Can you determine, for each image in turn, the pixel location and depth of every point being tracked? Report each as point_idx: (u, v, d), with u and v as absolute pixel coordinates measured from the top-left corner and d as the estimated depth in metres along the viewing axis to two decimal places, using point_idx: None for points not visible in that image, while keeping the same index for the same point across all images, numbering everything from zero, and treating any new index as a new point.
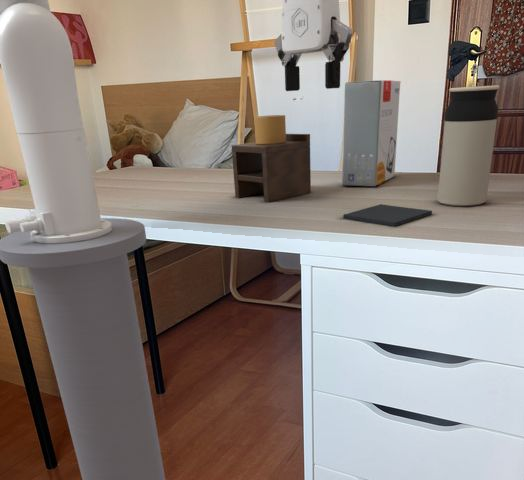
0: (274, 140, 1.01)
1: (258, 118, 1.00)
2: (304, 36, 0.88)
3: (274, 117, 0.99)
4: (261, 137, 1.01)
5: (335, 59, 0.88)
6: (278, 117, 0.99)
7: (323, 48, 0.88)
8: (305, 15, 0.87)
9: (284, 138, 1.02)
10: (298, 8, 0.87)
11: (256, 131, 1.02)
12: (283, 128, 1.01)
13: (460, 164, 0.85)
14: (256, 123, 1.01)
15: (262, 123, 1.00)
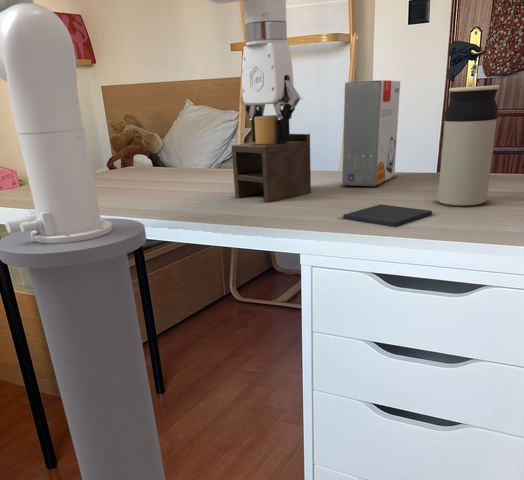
0: (274, 140, 1.01)
1: (258, 118, 1.00)
2: (261, 91, 0.97)
3: (274, 117, 0.99)
4: (261, 137, 1.01)
5: (283, 117, 0.98)
6: None
7: (274, 105, 0.98)
8: (261, 73, 0.96)
9: None
10: (255, 67, 0.97)
11: (256, 131, 1.02)
12: None
13: (460, 164, 0.85)
14: (256, 123, 1.01)
15: (262, 123, 1.00)
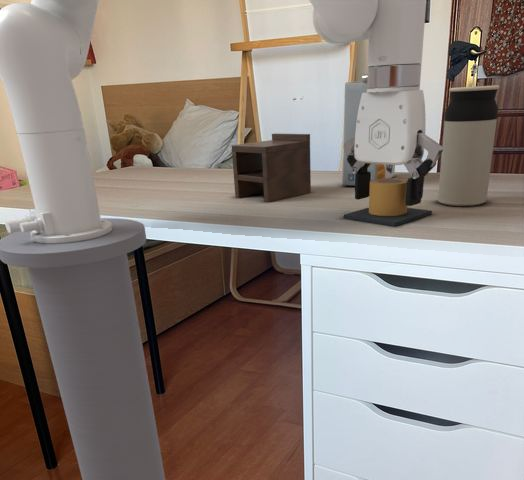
0: (396, 211, 0.82)
1: (377, 185, 0.81)
2: (384, 149, 0.78)
3: (399, 185, 0.80)
4: (379, 208, 0.82)
5: (420, 176, 0.77)
6: (403, 184, 0.80)
7: (406, 163, 0.78)
8: (387, 128, 0.76)
9: (406, 208, 0.83)
10: (379, 119, 0.77)
11: (372, 200, 0.82)
12: None
13: (460, 164, 0.85)
14: (374, 190, 0.82)
15: (383, 192, 0.81)
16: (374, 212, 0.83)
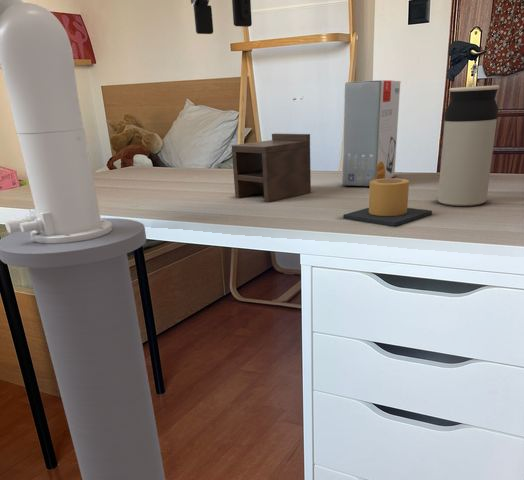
0: (396, 211, 0.82)
1: (377, 185, 0.81)
2: None
3: (399, 185, 0.80)
4: (379, 208, 0.82)
5: None
6: (403, 184, 0.80)
7: None
8: None
9: (406, 208, 0.83)
10: None
11: (372, 200, 0.82)
12: (407, 196, 0.82)
13: (460, 164, 0.85)
14: (374, 190, 0.82)
15: (383, 192, 0.81)
16: (374, 212, 0.83)
